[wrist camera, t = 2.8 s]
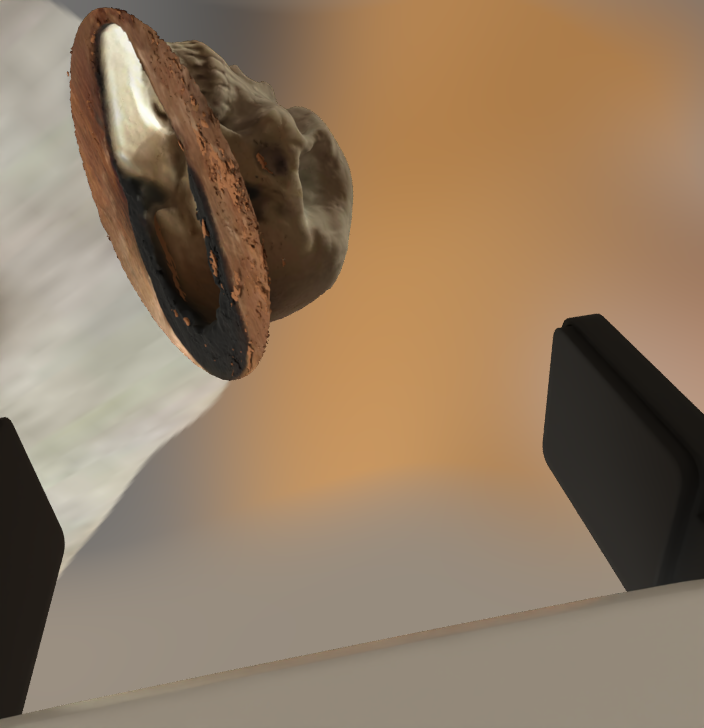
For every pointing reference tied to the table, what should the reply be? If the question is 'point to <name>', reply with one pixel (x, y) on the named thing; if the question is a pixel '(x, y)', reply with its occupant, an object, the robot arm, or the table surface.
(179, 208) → the skull
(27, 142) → the table surface
